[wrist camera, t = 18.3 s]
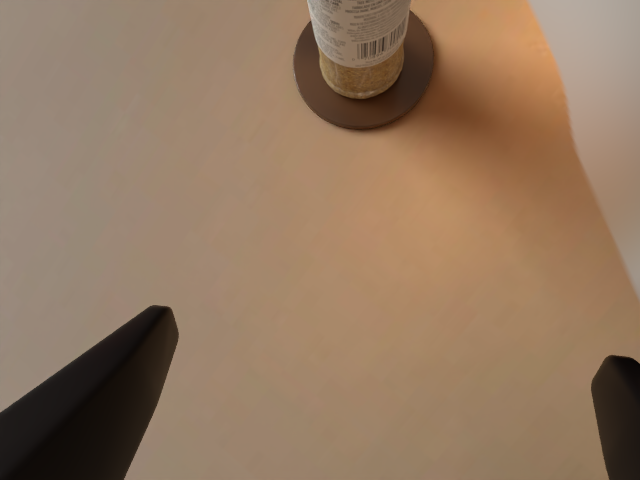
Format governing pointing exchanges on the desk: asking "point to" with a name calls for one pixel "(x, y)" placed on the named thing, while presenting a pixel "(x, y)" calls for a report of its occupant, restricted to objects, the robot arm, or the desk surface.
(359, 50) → the spice jar
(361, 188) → the desk surface
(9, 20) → the desk surface
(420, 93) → the coaster
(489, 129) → the desk surface
